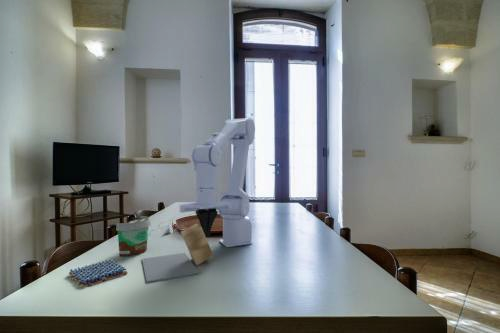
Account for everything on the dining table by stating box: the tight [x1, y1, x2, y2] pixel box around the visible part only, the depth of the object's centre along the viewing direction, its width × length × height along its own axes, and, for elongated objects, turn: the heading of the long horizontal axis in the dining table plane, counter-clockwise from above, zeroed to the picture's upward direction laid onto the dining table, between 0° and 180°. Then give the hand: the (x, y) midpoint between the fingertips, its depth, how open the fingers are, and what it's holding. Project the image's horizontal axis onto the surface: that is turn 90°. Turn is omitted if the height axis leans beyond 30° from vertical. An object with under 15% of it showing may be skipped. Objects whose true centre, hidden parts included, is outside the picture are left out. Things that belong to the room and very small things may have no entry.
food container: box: [115, 215, 152, 258], centre depth 82 cm, size 12×6×10 cm, turn 168°
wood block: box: [180, 223, 214, 266], centre depth 73 cm, size 5×5×9 cm
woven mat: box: [68, 259, 128, 288], centre depth 65 cm, size 10×11×2 cm
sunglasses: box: [148, 216, 177, 235], centre depth 109 cm, size 14×8×5 cm, turn 4°
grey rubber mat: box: [141, 252, 199, 284], centre depth 70 cm, size 12×16×1 cm
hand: (206, 236), depth 74 cm, fingers closed
